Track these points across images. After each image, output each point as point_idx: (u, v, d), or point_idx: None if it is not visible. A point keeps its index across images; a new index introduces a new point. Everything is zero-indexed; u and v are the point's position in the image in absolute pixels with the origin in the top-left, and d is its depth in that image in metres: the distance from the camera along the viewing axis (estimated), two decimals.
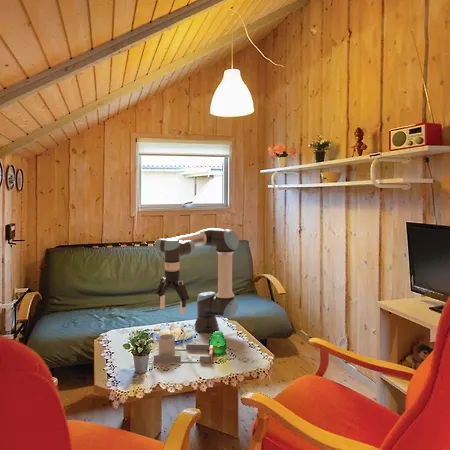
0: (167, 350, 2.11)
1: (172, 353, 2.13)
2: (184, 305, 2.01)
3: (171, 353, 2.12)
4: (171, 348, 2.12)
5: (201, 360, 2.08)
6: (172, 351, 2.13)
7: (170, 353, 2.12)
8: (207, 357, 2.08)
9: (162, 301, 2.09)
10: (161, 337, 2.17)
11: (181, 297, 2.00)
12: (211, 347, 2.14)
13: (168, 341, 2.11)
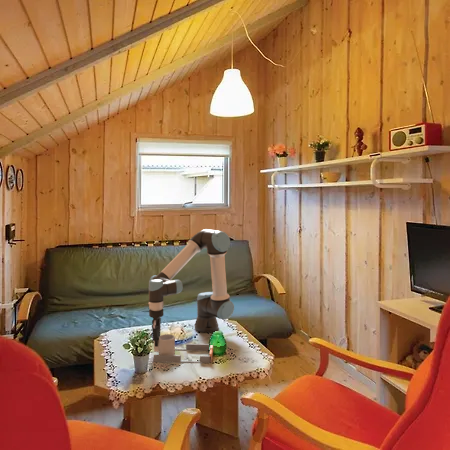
0: (167, 350, 2.11)
1: (172, 353, 2.13)
2: (155, 344, 2.15)
3: (171, 353, 2.12)
4: (171, 348, 2.12)
5: (201, 360, 2.08)
6: (172, 351, 2.13)
7: (170, 353, 2.12)
8: (207, 357, 2.08)
9: None
10: (161, 337, 2.17)
11: None
12: (211, 347, 2.14)
13: (168, 341, 2.11)
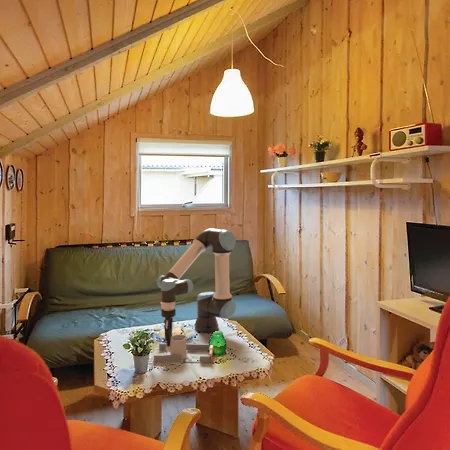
0: (178, 351, 2.10)
1: (183, 354, 2.12)
2: (167, 344, 2.14)
3: (182, 354, 2.11)
4: (183, 349, 2.11)
5: (201, 360, 2.08)
6: (183, 352, 2.12)
7: (181, 354, 2.11)
8: (207, 357, 2.08)
9: None
10: (173, 337, 2.16)
11: None
12: (211, 347, 2.14)
13: (179, 342, 2.10)
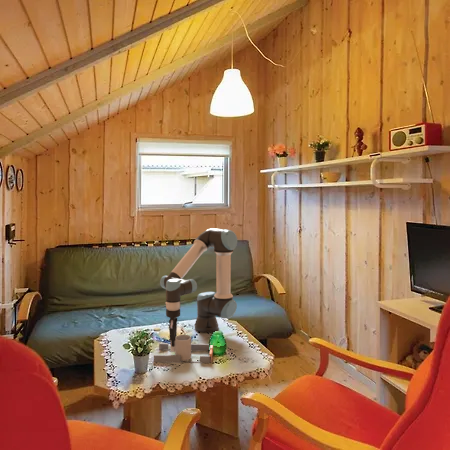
0: (183, 351, 2.10)
1: (188, 354, 2.12)
2: (172, 344, 2.14)
3: (187, 354, 2.11)
4: (187, 349, 2.11)
5: (201, 360, 2.08)
6: (188, 352, 2.12)
7: (186, 354, 2.11)
8: (207, 357, 2.08)
9: None
10: (178, 337, 2.16)
11: None
12: (211, 347, 2.14)
13: (184, 342, 2.10)
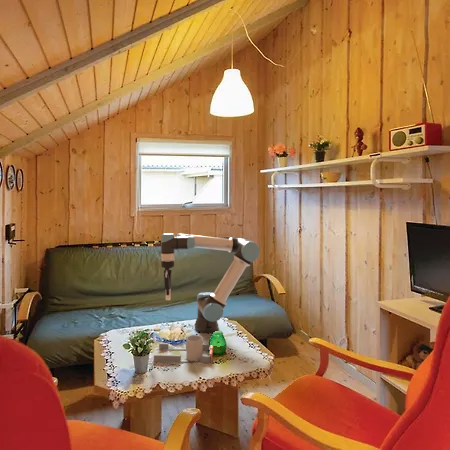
0: (194, 351, 2.10)
1: (199, 354, 2.11)
2: (166, 293, 2.33)
3: (198, 354, 2.11)
4: (199, 350, 2.10)
5: (201, 360, 2.08)
6: (199, 352, 2.11)
7: (197, 354, 2.10)
8: (207, 357, 2.08)
9: None
10: (189, 338, 2.16)
11: None
12: (211, 347, 2.14)
13: (195, 342, 2.09)
